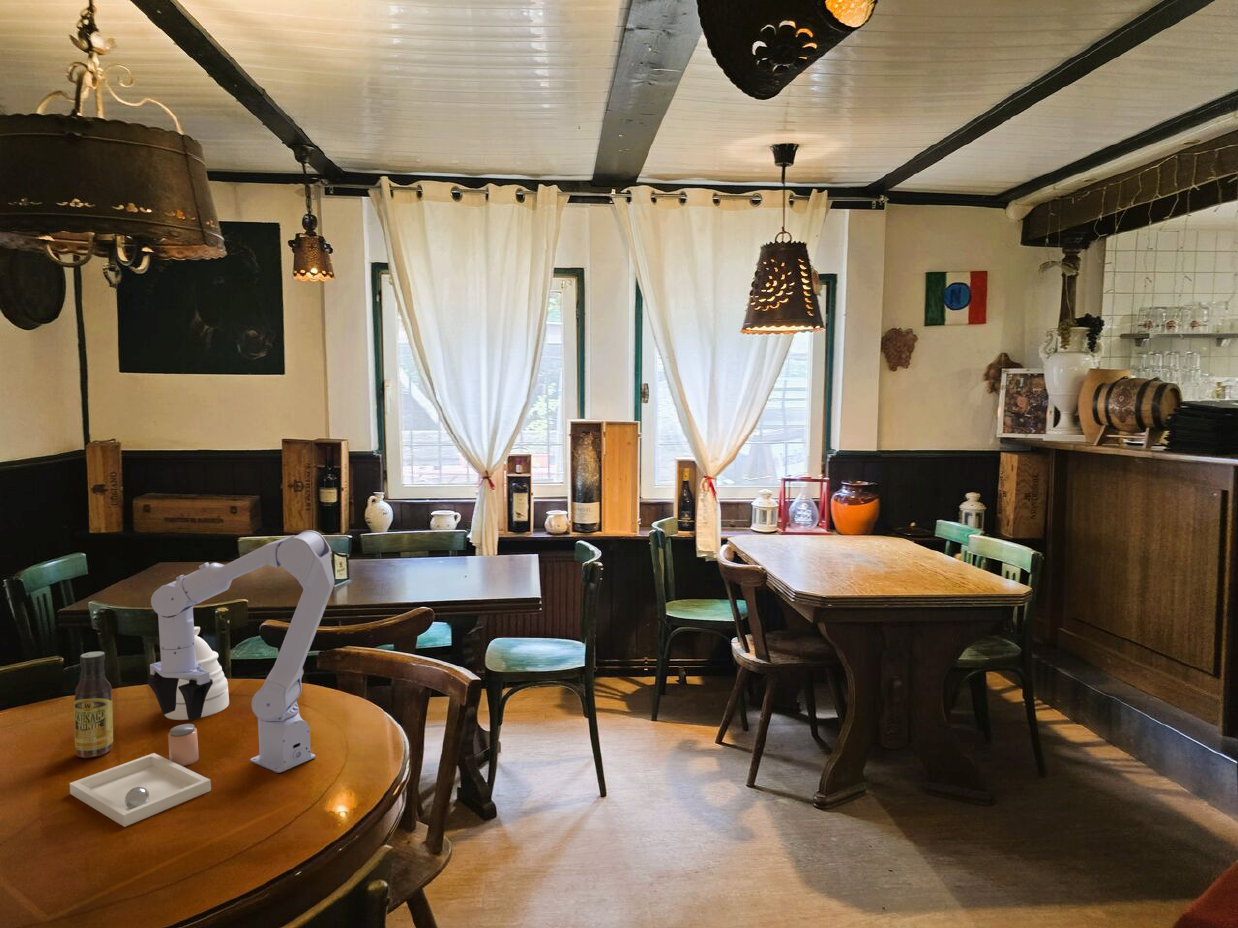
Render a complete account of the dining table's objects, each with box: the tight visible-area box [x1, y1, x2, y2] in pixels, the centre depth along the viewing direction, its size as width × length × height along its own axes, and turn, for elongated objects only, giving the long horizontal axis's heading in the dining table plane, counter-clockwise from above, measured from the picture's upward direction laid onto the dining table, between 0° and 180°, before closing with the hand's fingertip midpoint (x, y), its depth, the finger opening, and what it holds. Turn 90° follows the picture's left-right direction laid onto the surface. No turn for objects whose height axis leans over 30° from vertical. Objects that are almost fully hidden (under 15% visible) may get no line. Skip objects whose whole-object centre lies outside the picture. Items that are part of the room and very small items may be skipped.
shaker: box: [167, 723, 200, 767], centre depth 148 cm, size 5×5×7 cm
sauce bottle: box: [73, 651, 114, 759], centre depth 153 cm, size 6×6×20 cm
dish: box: [69, 752, 212, 828], centre depth 136 cm, size 20×14×2 cm
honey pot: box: [164, 626, 230, 721], centre depth 175 cm, size 13×13×18 cm
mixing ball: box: [125, 787, 149, 809], centre depth 130 cm, size 4×4×4 cm
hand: (181, 715), depth 147 cm, fingers open, 7 cm apart
